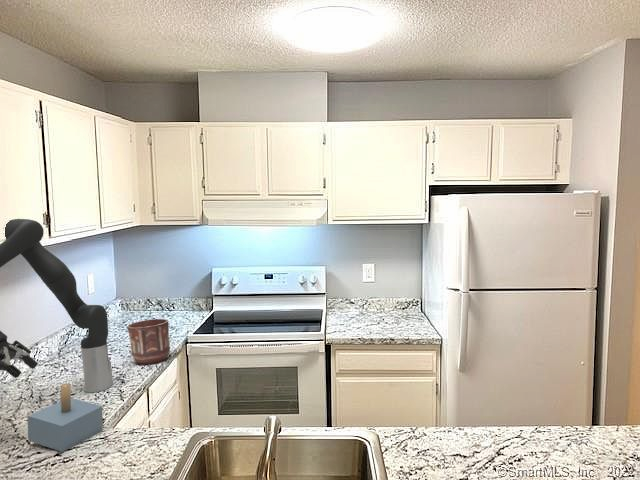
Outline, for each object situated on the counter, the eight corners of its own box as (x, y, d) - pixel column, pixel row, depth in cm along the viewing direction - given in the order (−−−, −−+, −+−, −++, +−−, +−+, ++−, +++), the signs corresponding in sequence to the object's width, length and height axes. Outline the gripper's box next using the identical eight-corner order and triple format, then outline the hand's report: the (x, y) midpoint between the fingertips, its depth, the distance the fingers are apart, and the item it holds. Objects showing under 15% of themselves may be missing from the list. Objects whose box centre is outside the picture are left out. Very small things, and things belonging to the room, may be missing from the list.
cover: (69, 420, 150) (69, 373, 148) (102, 429, 145) (102, 381, 143) (28, 440, 137) (27, 389, 135) (62, 451, 132) (61, 398, 130)
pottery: (154, 353, 230) (151, 317, 229) (179, 356, 221) (175, 319, 220) (123, 365, 215) (119, 326, 214) (148, 368, 206) (144, 328, 205)
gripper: (-24, 332, 132) (21, 368, 133) (7, 321, 146) (48, 354, 147) (-41, 352, 132) (4, 388, 133) (-9, 340, 146) (33, 372, 147)
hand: (27, 370), depth 140 cm, fingers open, 8 cm apart
